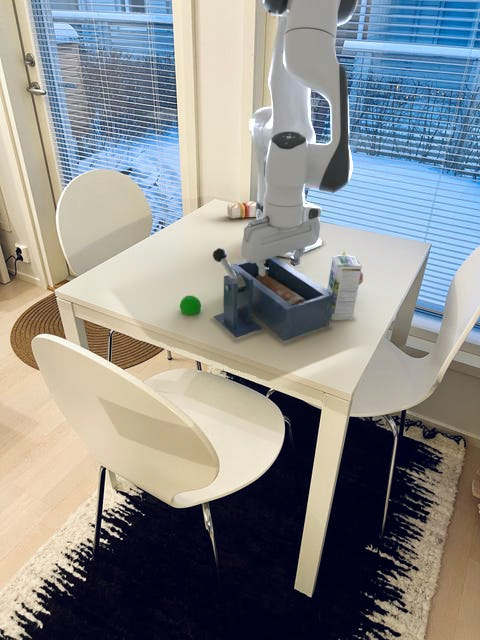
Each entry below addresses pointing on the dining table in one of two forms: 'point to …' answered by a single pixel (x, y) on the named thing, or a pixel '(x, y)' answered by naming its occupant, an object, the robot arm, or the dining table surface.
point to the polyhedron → (190, 305)
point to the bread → (280, 290)
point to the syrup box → (344, 286)
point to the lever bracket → (238, 318)
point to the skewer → (242, 210)
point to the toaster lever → (229, 268)
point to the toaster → (277, 310)
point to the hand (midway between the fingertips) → (279, 269)
